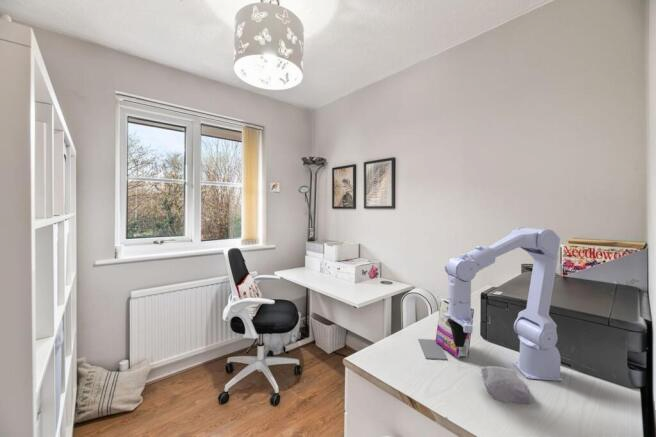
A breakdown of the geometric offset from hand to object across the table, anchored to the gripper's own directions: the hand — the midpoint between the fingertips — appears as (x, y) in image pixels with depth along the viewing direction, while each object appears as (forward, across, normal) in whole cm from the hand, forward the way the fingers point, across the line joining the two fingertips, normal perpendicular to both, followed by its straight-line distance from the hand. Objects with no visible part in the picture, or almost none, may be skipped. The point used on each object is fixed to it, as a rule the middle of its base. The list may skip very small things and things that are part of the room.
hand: (458, 345), depth 80 cm
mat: (+10, -17, -4) cm, 20 cm away
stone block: (+11, +2, +11) cm, 15 cm away
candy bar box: (+10, -17, +3) cm, 20 cm away
